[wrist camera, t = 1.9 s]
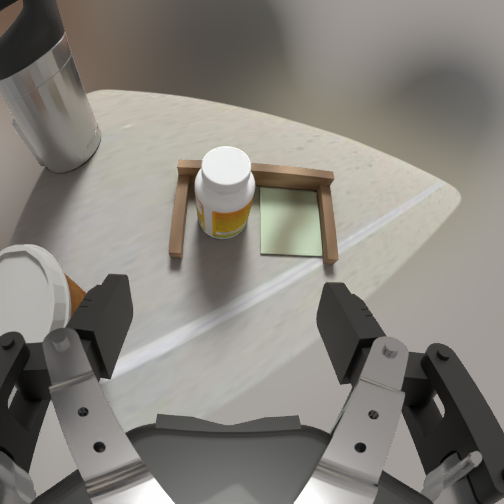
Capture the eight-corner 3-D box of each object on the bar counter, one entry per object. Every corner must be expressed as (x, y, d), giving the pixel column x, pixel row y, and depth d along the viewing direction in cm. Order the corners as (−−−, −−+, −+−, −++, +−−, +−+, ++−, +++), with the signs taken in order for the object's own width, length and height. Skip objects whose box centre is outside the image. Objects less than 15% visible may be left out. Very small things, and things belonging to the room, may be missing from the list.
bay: (170, 257, 29) (166, 247, 26) (180, 175, 32) (178, 159, 29) (333, 263, 31) (344, 255, 28) (324, 185, 34) (333, 171, 31)
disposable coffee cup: (133, 304, 27) (83, 273, 16) (97, 384, 24) (32, 399, 12) (66, 264, 27) (5, 219, 16) (33, 337, 24) (-39, 323, 12)
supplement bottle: (256, 211, 32) (272, 158, 23) (229, 249, 30) (236, 205, 21) (216, 187, 32) (218, 130, 23) (188, 223, 30) (178, 171, 21)
